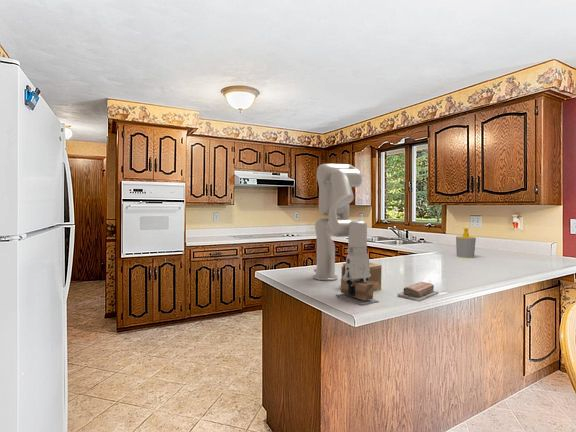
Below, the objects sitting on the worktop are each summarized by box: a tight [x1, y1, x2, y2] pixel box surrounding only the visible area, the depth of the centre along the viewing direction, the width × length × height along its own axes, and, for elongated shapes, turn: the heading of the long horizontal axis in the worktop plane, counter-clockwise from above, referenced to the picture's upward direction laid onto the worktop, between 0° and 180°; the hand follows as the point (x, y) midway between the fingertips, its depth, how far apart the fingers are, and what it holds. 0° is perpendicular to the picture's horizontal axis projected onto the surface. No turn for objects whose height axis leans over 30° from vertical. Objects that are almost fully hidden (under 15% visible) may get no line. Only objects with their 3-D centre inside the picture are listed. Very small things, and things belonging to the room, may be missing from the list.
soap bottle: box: [455, 227, 477, 259], centre depth 256 cm, size 13×13×21 cm
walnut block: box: [340, 278, 374, 301], centre depth 144 cm, size 5×14×6 cm, turn 31°
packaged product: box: [397, 281, 439, 302], centre depth 151 cm, size 18×5×10 cm
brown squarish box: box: [340, 262, 383, 292], centre depth 161 cm, size 12×13×11 cm
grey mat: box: [335, 293, 380, 306], centre depth 144 cm, size 16×9×1 cm, turn 31°
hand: (356, 293), depth 144 cm, fingers closed on walnut block, 5 cm apart
